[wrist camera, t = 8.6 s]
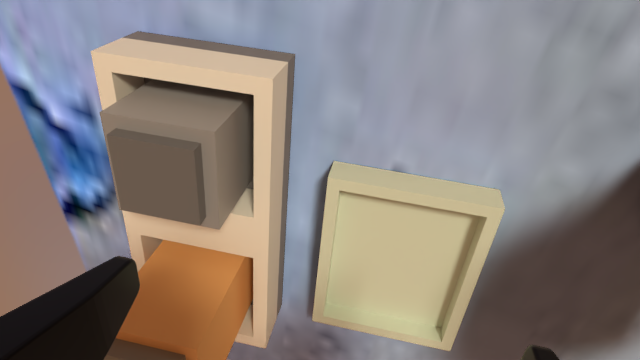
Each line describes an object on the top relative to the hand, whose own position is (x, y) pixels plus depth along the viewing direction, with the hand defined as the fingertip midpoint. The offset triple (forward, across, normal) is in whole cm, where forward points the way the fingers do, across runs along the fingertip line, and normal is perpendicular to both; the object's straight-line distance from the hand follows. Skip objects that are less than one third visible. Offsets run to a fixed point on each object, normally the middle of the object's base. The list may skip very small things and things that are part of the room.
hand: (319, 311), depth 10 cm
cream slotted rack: (+12, +8, +6) cm, 15 cm away
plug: (+11, +7, +10) cm, 17 cm away
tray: (+12, -2, +8) cm, 15 cm away
